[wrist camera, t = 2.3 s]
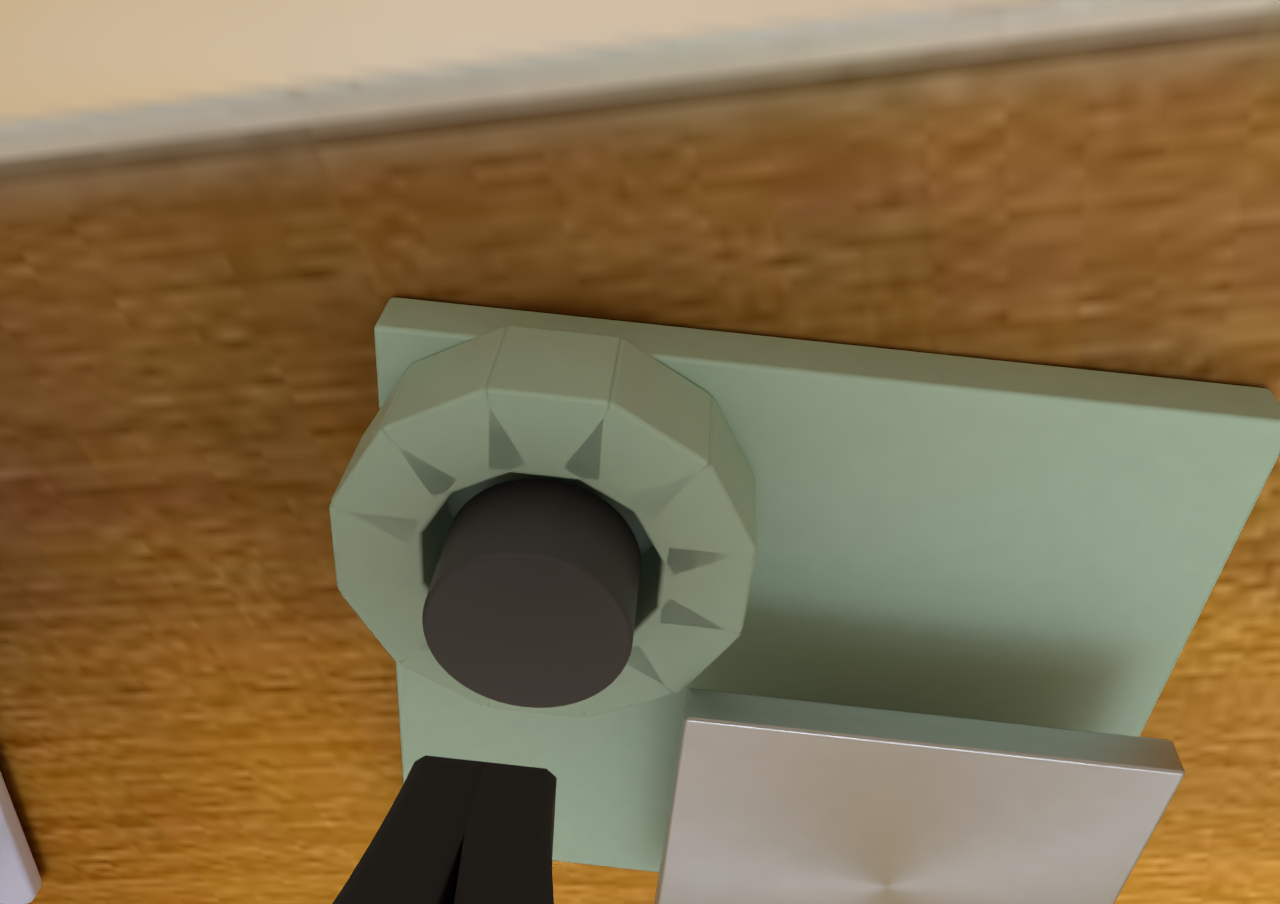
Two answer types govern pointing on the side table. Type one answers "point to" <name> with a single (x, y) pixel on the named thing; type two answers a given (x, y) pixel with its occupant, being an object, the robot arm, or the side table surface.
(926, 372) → the scale
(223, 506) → the side table surface
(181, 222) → the side table surface
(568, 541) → the tare button
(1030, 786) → the grey square plate
